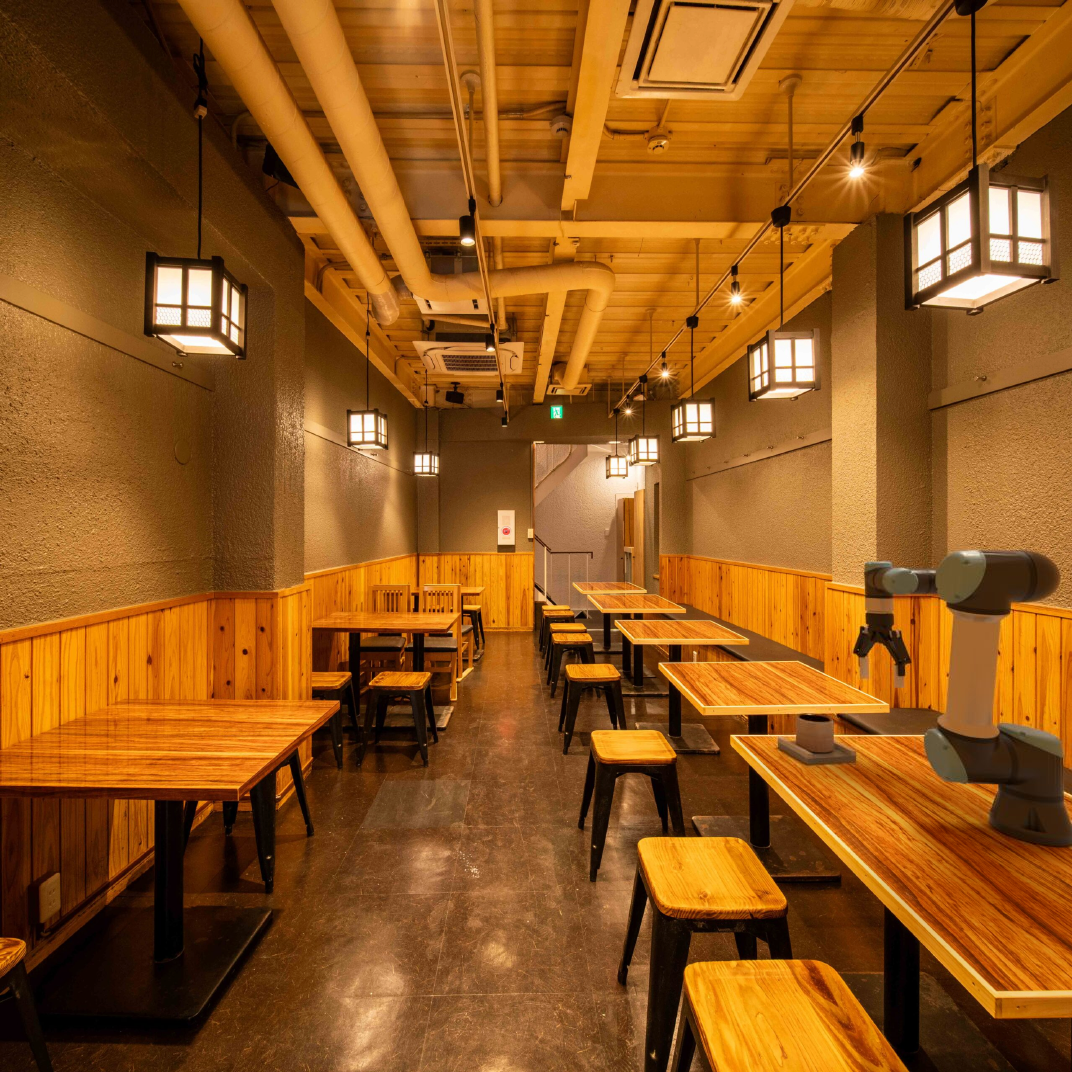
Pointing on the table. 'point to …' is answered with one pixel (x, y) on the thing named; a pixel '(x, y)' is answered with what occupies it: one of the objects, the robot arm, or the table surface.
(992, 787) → the table surface
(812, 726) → the planter
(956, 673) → the robot arm
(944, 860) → the table surface
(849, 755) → the grey square tray
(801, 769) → the table surface
